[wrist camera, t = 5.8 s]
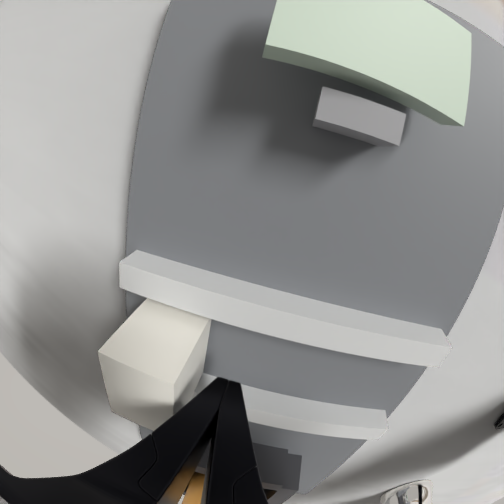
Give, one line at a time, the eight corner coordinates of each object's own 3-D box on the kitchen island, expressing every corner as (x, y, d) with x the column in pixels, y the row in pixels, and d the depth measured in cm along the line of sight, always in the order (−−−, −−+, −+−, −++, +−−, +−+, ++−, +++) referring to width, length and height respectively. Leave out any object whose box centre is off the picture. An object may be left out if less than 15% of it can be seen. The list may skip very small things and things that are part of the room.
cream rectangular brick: (212, 312, 10) (174, 384, 6) (203, 371, 11) (173, 438, 8) (151, 292, 10) (97, 351, 7) (151, 353, 11) (111, 411, 8)
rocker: (450, 38, 5) (471, 33, 4) (440, 124, 6) (463, 126, 5) (286, -33, 4) (291, -53, 3) (261, 57, 5) (265, 44, 4)
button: (270, 481, 12) (264, 515, 10) (253, 499, 13) (247, 527, 11) (194, 463, 12) (181, 496, 10) (191, 483, 14) (181, 510, 12)
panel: (496, 68, 6) (559, 51, 2) (307, 474, 17) (303, 519, 13) (204, -19, 7) (160, -74, 3) (153, 435, 18) (132, 476, 14)
